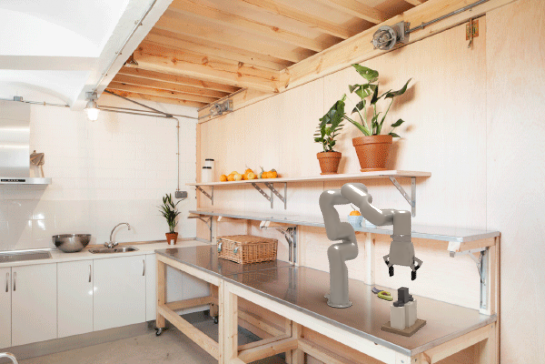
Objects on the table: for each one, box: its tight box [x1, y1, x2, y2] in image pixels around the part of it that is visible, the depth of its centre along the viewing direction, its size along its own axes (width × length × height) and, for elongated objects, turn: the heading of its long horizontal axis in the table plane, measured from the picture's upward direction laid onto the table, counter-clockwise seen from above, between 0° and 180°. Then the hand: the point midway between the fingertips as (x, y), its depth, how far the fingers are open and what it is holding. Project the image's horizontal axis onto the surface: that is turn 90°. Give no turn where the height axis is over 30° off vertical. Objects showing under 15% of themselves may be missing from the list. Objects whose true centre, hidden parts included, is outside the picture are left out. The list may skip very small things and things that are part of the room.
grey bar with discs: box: [392, 286, 415, 307], centre depth 160 cm, size 5×16×6 cm, turn 139°
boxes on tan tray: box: [380, 298, 427, 338], centre depth 159 cm, size 12×19×10 cm, turn 138°
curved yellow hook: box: [371, 286, 394, 301], centre depth 209 cm, size 8×3×25 cm
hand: (402, 278), depth 160 cm, fingers open, 9 cm apart
